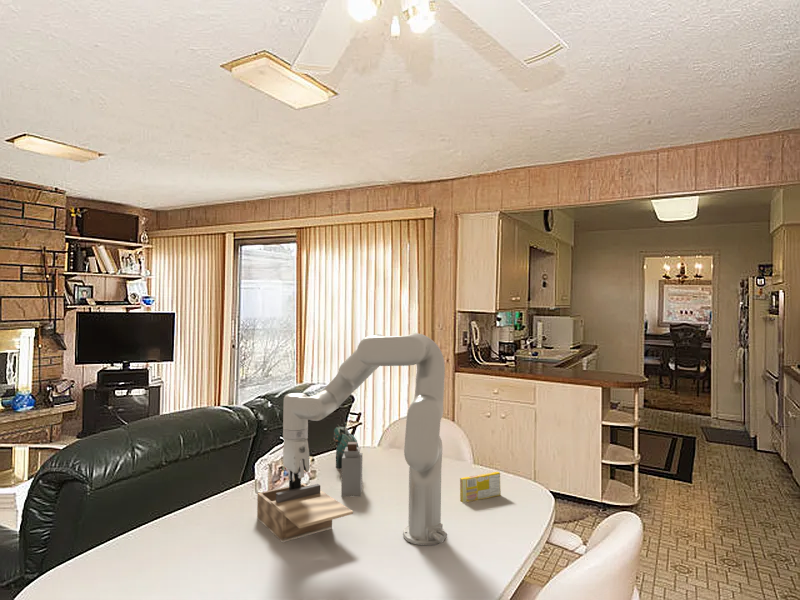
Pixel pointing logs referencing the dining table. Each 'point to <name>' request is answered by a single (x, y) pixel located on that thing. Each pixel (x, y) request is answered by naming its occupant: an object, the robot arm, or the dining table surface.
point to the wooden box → (283, 518)
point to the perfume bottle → (351, 471)
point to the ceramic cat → (342, 443)
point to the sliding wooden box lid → (309, 506)
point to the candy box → (480, 487)
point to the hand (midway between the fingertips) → (294, 492)
